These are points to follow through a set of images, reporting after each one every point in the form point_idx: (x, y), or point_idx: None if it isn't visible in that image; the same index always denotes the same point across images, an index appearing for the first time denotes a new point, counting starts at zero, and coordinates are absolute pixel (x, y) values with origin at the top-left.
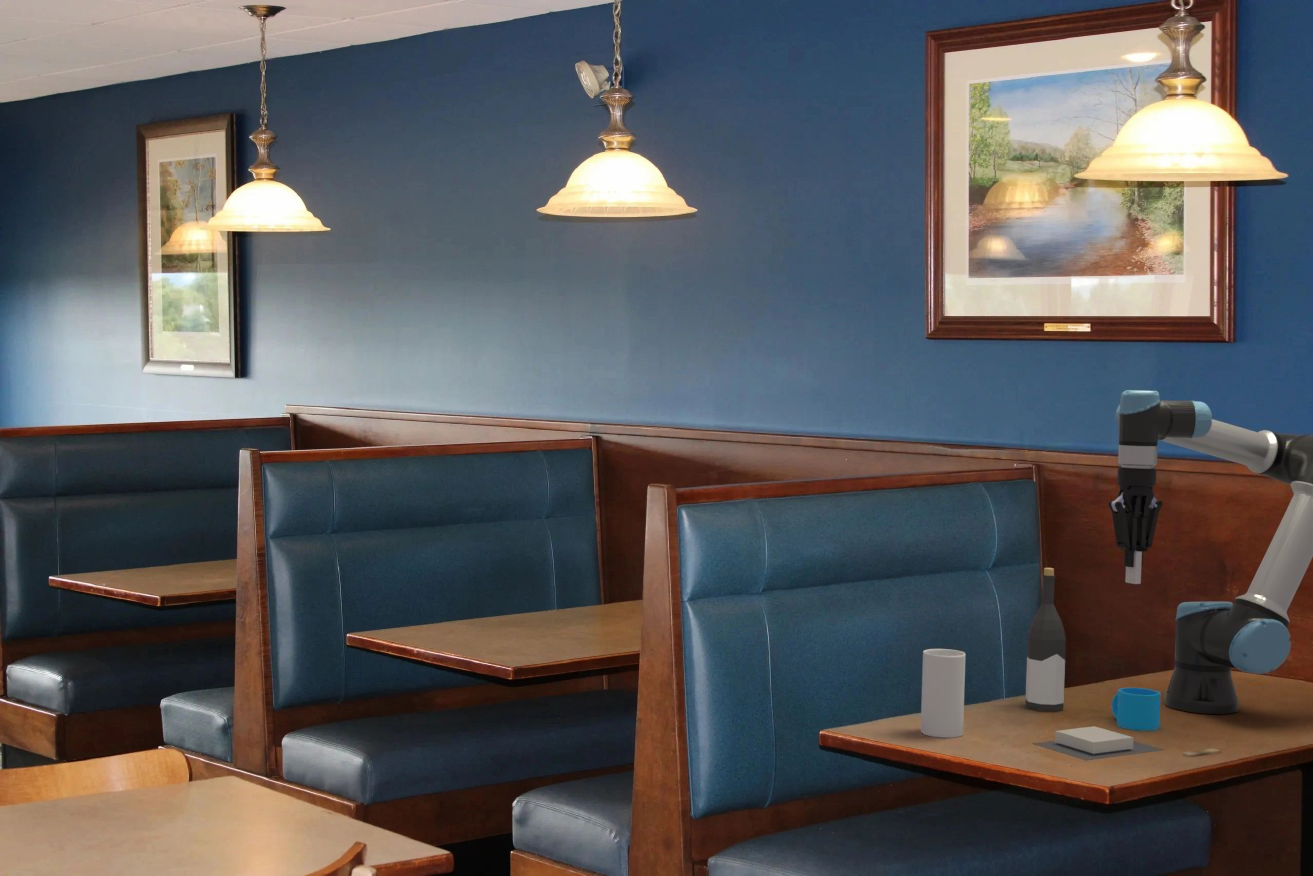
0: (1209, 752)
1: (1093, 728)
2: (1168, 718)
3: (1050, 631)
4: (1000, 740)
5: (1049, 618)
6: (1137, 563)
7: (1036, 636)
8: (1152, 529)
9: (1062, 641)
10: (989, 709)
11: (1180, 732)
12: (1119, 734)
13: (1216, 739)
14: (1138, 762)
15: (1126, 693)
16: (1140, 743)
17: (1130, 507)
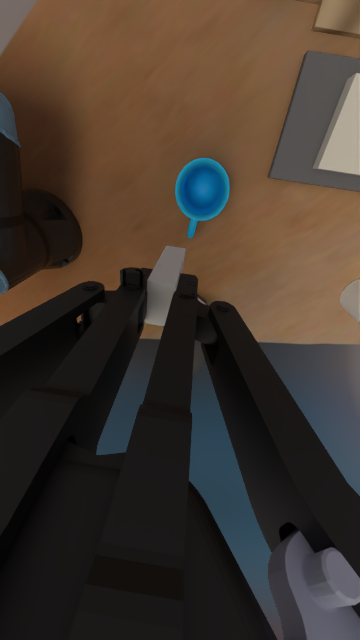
0: None
1: (333, 158)
2: (118, 215)
3: (197, 344)
4: (355, 245)
5: (194, 357)
6: (173, 267)
7: None
8: (35, 322)
9: None
10: None
11: (161, 155)
12: (348, 104)
13: (152, 93)
14: None
15: (227, 193)
16: (293, 109)
17: (214, 537)
